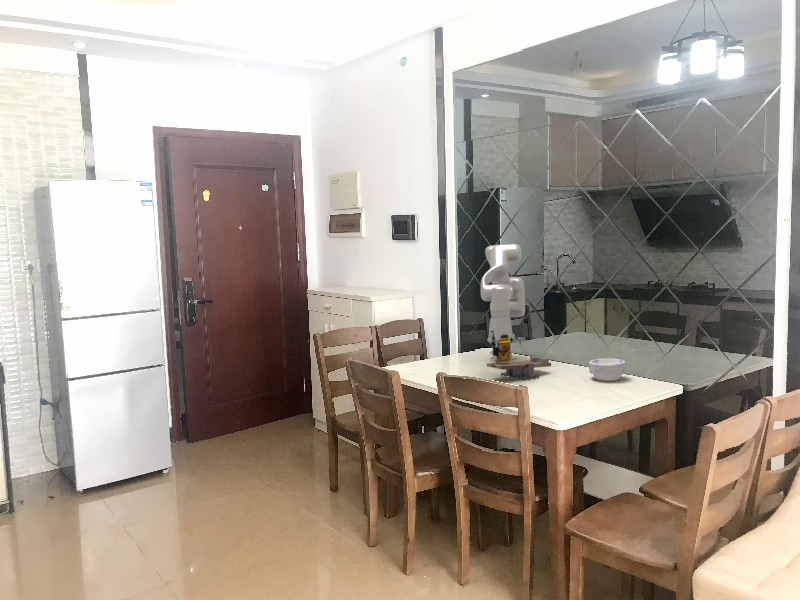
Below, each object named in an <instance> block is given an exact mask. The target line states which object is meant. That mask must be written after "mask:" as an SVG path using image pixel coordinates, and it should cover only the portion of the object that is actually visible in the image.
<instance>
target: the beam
mask: <svg viewBox="0 0 800 600" xmlns="http://www.w3.org/2000/svg"><path fill="white" fill-rule="evenodd" d="M527 363H534V369H536V368H547V367H552V363H551V362H550V358H548V357H541V356H536V355H535V356H530V357H529V360H516V361H515V360H514V361H513V362H508V363H497V362H494V361H491V362H486V367H488V368H493V369H498V370H505V371H506V369H520V368H526V364H527Z"/></svg>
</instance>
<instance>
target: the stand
mask: <svg viewBox="0 0 800 600" xmlns="http://www.w3.org/2000/svg"><path fill="white" fill-rule="evenodd" d="M510 360H512V362H513V359H510ZM500 375H501V376H502V375H504V377H506V376H509V377H508V378H511V377H513V378H512V379H515V378H518V379H517V380H520V379H522V380H521V381H524V380H528V381H532V380H531V379H533V380H536V378H537V379H540V375H537V374H535V368H534V363H527V364H526V368H520V369H505V372H501V373H500Z"/></svg>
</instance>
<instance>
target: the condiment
mask: <svg viewBox="0 0 800 600" xmlns="http://www.w3.org/2000/svg"><path fill="white" fill-rule="evenodd" d="M508 339H509V338H508V335H504V336H501V339H500V341H499V342H498V347H499V356H496V360H491V359H490V361H491V362H497V363H508V362H512V360H510V343H509V340H508Z"/></svg>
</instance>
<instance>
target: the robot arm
mask: <svg viewBox="0 0 800 600" xmlns="http://www.w3.org/2000/svg"><path fill="white" fill-rule="evenodd" d="M484 251H485V252H484V253H485V257H486V260H487V262H488V264H489V266H490V268H489V269H488V270H487V271H486V272H484V275H483V276H482V277H481V281H480V297H481V299H482V301H484V302H490V304H489V309H490V310H489V311H490V315H491V317H490V319H489V324H488V325H489V326H488V337H487V340H486V341H487V342H488V343H489V345H490V346H491V347H492V350H491V351H489V355H491V357H490V360H496V356H499V347H498V342H499V341H500V339H501V336H504V335H508V338H509V339H508V340H509V343H510V359H513V361H515V360H516V356H515V355H513V341H514V338H515V336H516V335H515V334H514V332H513V329H512V328H513V327H512V320H511V318H520V317H523V316H524V315H525V313H526V297H525V293H526V292H525V282H524V280H523V278H521V277H520V276H509V275H510V273H509V272H510V268H509V263H515V262H518V263H519V262H520V261H521V259H522V252H523V251H522V248H521V246H520V245H519V244H518V243H509V244H508V243H505V244H494V245H489V246H487V247H486V248H485V249H484ZM514 297H515V298H514Z"/></svg>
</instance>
